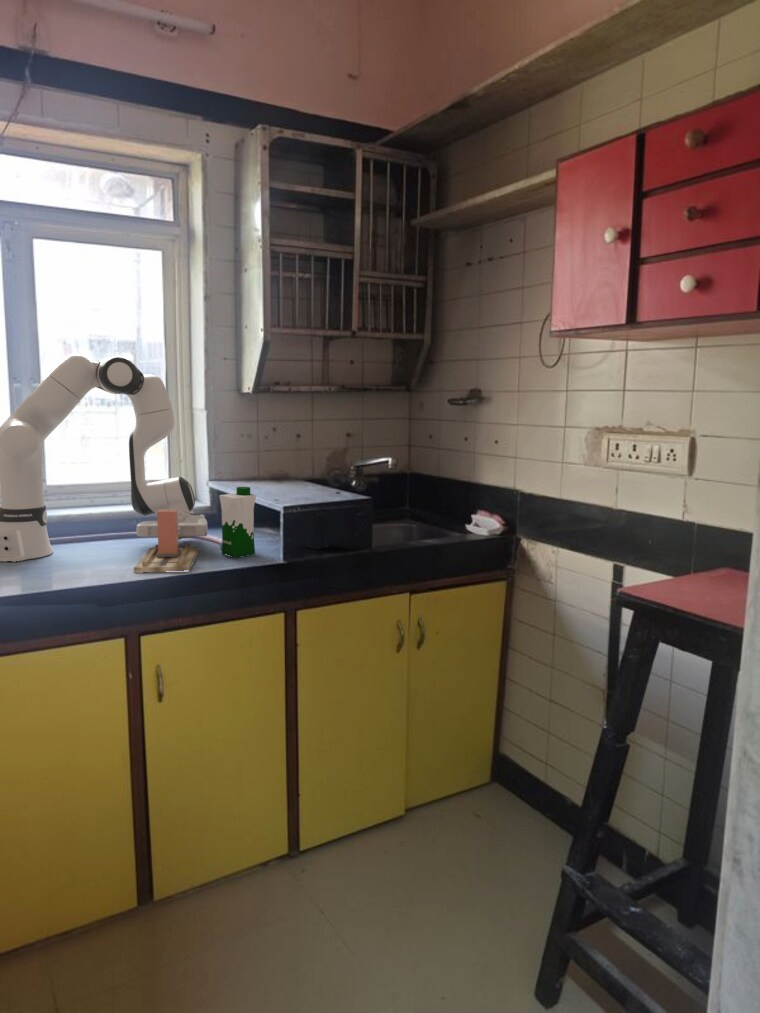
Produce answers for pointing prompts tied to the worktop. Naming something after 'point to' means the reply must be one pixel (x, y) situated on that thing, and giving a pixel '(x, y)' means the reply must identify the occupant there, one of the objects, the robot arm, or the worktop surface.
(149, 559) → the tan flat ridged board
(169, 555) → the salmon orange rectangular block
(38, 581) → the worktop surface
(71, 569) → the worktop surface
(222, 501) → the milk carton
